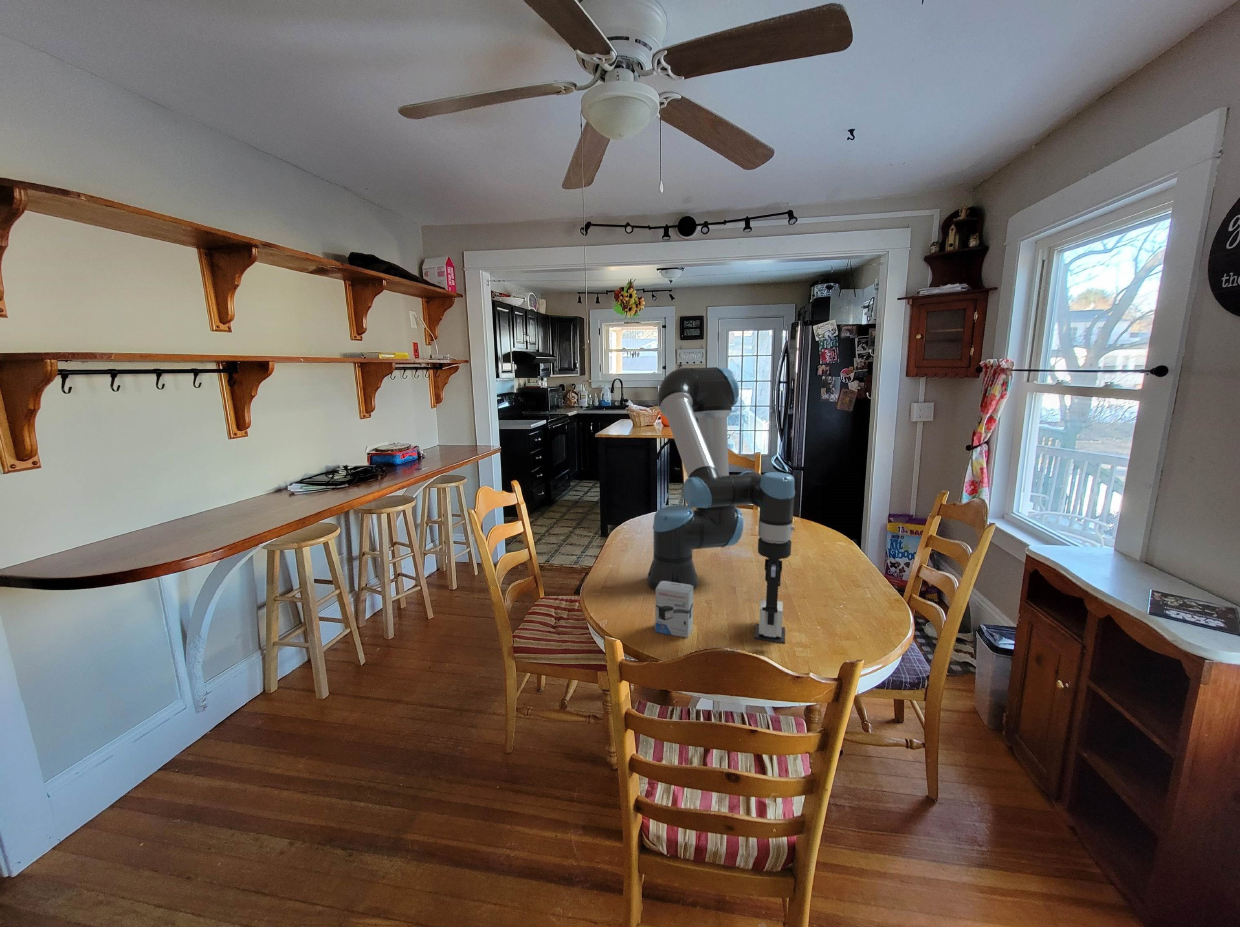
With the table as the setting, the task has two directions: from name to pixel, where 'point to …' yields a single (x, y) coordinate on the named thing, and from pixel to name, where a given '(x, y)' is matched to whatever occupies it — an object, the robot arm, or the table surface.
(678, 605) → the ink box
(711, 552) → the table surface
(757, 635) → the post
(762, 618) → the white upright block
